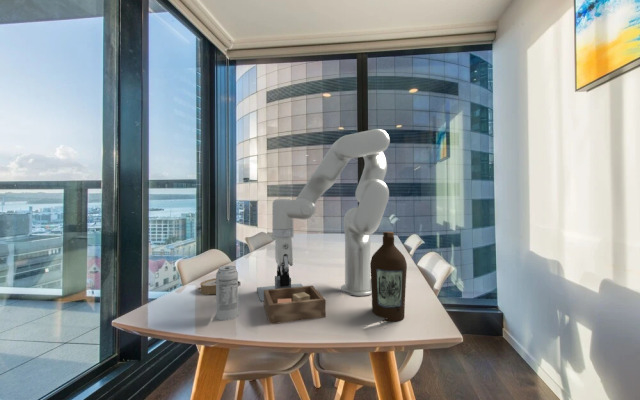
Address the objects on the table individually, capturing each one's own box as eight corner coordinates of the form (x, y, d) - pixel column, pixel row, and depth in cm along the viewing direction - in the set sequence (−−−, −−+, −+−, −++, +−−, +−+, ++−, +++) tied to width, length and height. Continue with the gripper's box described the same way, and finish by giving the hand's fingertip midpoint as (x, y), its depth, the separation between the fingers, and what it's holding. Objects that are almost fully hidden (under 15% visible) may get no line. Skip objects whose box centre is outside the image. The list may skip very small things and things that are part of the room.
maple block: (303, 304, 94) (303, 292, 94) (310, 308, 90) (310, 295, 90) (292, 306, 92) (292, 294, 92) (298, 311, 88) (298, 297, 88)
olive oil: (369, 307, 94) (370, 229, 93) (403, 309, 92) (404, 230, 92) (370, 321, 83) (371, 233, 83) (409, 324, 82) (409, 234, 81)
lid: (300, 289, 115) (300, 270, 115) (311, 302, 101) (311, 281, 101) (256, 293, 110) (256, 274, 110) (261, 307, 96) (261, 285, 96)
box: (312, 303, 97) (312, 285, 97) (325, 320, 84) (325, 299, 84) (263, 308, 92) (263, 289, 92) (269, 327, 79) (269, 305, 79)
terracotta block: (291, 311, 88) (291, 298, 88) (291, 317, 84) (291, 303, 84) (277, 312, 87) (277, 299, 87) (277, 317, 83) (277, 303, 83)
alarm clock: (208, 278, 118) (243, 272, 116) (210, 290, 117) (246, 284, 116) (193, 286, 106) (232, 280, 105) (196, 300, 106) (235, 294, 105)
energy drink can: (237, 314, 88) (238, 264, 88) (237, 322, 82) (238, 269, 82) (216, 316, 86) (216, 265, 86) (215, 324, 81) (215, 270, 81)
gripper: (298, 236, 98) (298, 289, 98) (288, 230, 115) (288, 276, 115) (276, 236, 96) (276, 291, 96) (269, 231, 112) (269, 277, 112)
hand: (282, 282), depth 105 cm, fingers open, 6 cm apart
